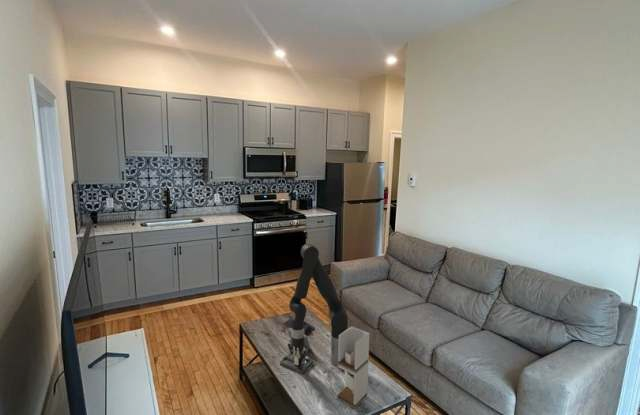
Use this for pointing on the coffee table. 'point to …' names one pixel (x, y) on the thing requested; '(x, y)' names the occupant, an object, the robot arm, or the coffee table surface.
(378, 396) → the coffee table surface
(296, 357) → the fader tab
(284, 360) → the console
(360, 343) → the display case
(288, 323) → the dark slate chunk
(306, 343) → the digital clock
